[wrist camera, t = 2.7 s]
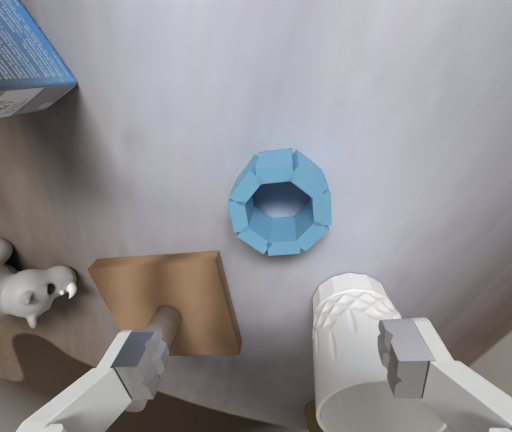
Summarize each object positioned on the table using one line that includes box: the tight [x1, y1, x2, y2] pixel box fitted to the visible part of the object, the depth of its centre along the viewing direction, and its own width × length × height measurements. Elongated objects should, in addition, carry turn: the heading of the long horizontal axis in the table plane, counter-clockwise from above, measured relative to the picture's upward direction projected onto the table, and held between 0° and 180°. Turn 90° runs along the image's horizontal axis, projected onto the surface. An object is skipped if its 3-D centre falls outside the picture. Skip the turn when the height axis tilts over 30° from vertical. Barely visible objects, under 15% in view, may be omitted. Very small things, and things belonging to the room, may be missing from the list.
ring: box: [228, 148, 331, 256], centre depth 20 cm, size 7×7×4 cm
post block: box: [88, 251, 242, 412], centre depth 24 cm, size 12×12×10 cm
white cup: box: [312, 273, 447, 432], centre depth 22 cm, size 8×8×10 cm
